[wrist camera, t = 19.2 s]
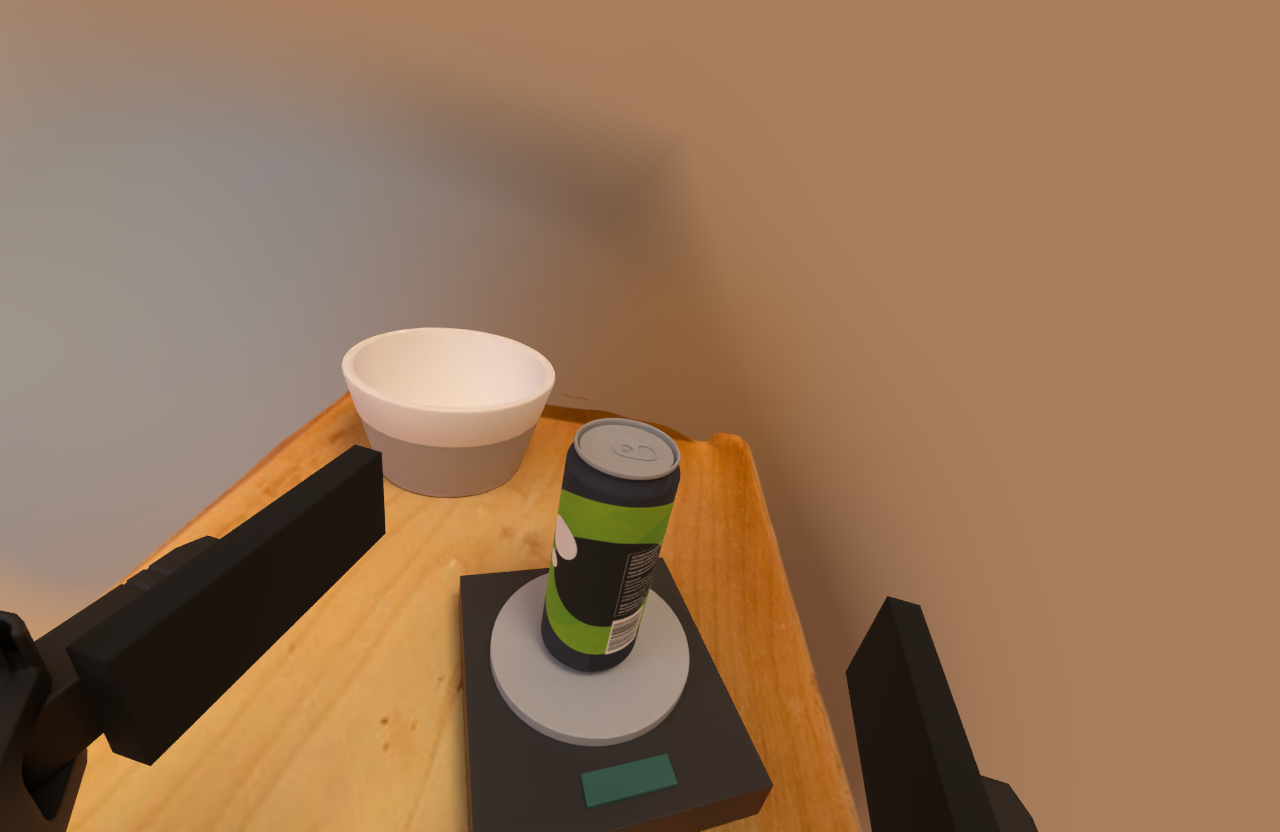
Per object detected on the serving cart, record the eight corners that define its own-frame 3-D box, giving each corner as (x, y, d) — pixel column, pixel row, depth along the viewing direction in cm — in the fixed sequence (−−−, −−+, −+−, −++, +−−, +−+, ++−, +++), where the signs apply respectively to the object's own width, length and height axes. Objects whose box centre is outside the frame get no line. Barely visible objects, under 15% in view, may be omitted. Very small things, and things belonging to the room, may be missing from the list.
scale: (655, 583, 46) (664, 549, 44) (758, 813, 31) (778, 777, 30) (458, 605, 40) (460, 567, 38) (471, 900, 25) (475, 861, 24)
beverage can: (632, 605, 38) (679, 424, 31) (635, 684, 33) (691, 486, 26) (545, 595, 38) (574, 408, 31) (533, 675, 32) (564, 468, 25)
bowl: (508, 536, 48) (519, 432, 43) (301, 486, 48) (288, 378, 43) (563, 434, 65) (575, 352, 60) (410, 398, 65) (410, 314, 60)
